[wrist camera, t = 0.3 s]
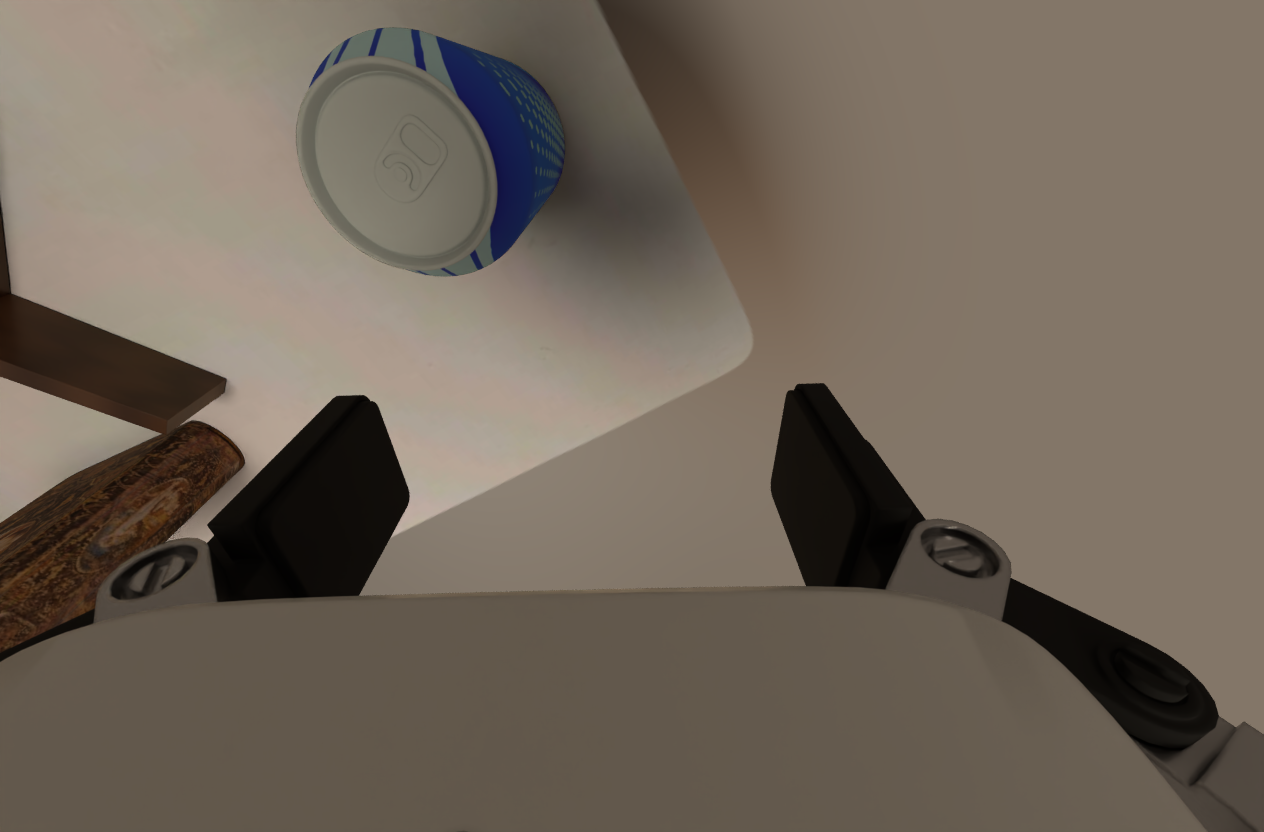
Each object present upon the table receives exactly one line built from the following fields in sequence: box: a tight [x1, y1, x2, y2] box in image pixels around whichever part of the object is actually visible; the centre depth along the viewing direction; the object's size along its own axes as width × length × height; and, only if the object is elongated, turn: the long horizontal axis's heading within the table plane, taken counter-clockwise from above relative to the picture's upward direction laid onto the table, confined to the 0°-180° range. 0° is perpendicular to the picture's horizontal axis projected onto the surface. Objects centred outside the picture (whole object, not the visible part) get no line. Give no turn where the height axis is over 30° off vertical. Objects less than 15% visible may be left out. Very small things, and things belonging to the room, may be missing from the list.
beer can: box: [296, 27, 565, 276], centre depth 23 cm, size 8×8×16 cm
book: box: [0, 421, 244, 653], centre depth 33 cm, size 16×6×25 cm, turn 113°
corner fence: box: [0, 212, 226, 435], centre depth 31 cm, size 16×16×6 cm
